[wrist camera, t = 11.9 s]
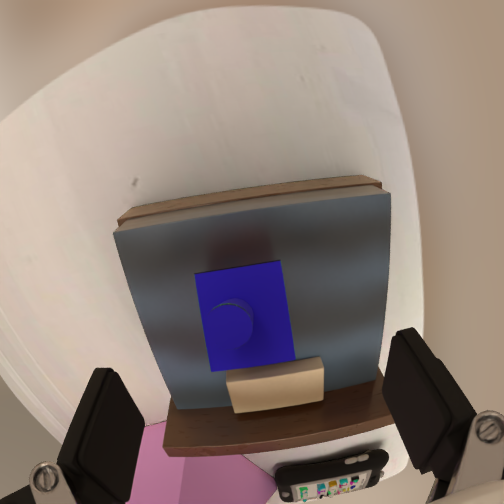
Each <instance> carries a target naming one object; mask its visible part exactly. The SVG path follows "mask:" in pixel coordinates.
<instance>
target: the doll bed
mask: <svg viewBox="0 0 504 504" xmlns="http://www.w3.org/2000/svg"><path fill="white" fill-rule="evenodd" d="M117 222H118V226H119V228H118V229H116V230H115V231H114V232H113V235H114V239H115V243H116V246H117V250H118V253H119V257H120V260H121V263H122V267H123V270H124V273H125V276H126V280H127V283H128V286H129V289H130V292H131V295H132V298H133V301H134V304H135V307H136V310H137V312H138V315H139V318H140V321H141V323H142V326H143V329H144V332H145V334H146V337H147V339H148V342H149V345H150V347H151V350H152V352H153V355H154V357H155V360H156V362H157V364H158V367H159V369H160V372H161V374H162V376H163V379H164V381H165V383H166V385H167V388H168V390H169V392H170V394H171V399H170V405H169V410H168V416H167V422H166V427H165V433H164V439H163V445H162V448H163V449H164V451H165V452H166V454H167V455H168V457H207V456H226V455H240V454H250V453H260V452H268V451H275V450H282V449H289V448H295V447H301V446H307V445H312V444H317V443H322V442H327V441H331V440H336V439H340V438H344V437H348V436H352V435H356V434H360V433H364V432H367V431H371V430H374V429H378V428H381V427H384V426H388V425H391V424H394V423H395V422H394V420H393V418H392V415H391V413H390V411H389V409H388V407H387V404H386V402H385V400H384V398H383V395H382V385H383V381H384V376H383V374H382V372H381V371H380V369H379V367H378V364H379V357H380V351H381V344H382V337H383V329H384V320H385V311H386V301H387V290H388V277H389V260H390V235H391V193H389V192H387V191H385V190H382V182H380V181H377V180H375V179H372V178H370V177H367V176H364V175H355V176H344V177H334V178H324V179H314V180H305V181H296V182H288V183H280V184H272V185H264V186H257V187H250V188H243V189H236V190H229V191H223V192H216V193H210V194H204V195H198V196H192V197H186V198H180V199H174V200H169V201H163V202H158V203H153V204H148V205H142V206H137V207H132V208H131V209H130V210H128V211H127V212H126V213H125V214H124V215H122V216H121V217H120V218H119V219H117ZM275 260H281V265H282V271H283V277H284V283H285V289H286V296H287V302H288V308H289V315H290V321H291V328H292V334H293V341H294V348H295V355H296V360H292V361H286V362H280V363H274V364H268V365H261V366H255V367H248V368H240V369H233V370H224V371H216V372H211V371H210V365H209V360H208V355H207V350H206V344H205V339H204V333H203V327H202V321H201V316H200V310H199V303H198V297H197V291H196V284H195V278H194V273H199V272H206V271H212V270H219V269H225V268H231V267H238V266H244V265H250V264H256V263H263V262H269V261H275Z"/></svg>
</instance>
